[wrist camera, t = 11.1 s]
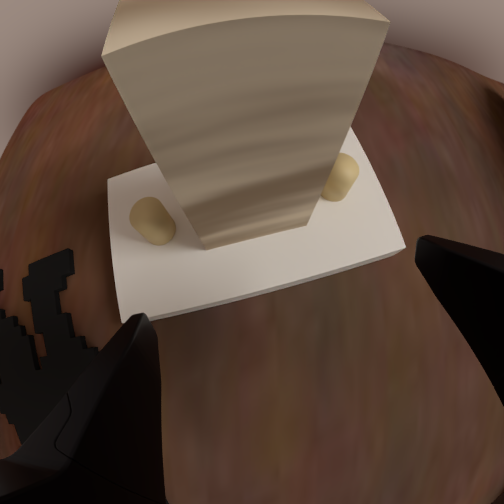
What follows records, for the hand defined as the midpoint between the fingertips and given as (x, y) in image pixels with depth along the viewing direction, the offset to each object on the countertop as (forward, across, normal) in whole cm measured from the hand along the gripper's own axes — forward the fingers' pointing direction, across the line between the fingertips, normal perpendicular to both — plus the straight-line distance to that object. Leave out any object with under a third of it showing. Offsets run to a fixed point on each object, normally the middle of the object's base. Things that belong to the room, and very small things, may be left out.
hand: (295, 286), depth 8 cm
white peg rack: (+11, 0, +2) cm, 11 cm away
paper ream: (+10, 0, +1) cm, 10 cm away
